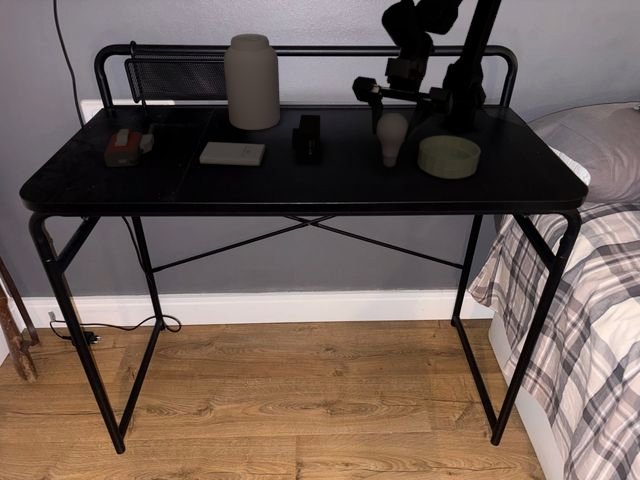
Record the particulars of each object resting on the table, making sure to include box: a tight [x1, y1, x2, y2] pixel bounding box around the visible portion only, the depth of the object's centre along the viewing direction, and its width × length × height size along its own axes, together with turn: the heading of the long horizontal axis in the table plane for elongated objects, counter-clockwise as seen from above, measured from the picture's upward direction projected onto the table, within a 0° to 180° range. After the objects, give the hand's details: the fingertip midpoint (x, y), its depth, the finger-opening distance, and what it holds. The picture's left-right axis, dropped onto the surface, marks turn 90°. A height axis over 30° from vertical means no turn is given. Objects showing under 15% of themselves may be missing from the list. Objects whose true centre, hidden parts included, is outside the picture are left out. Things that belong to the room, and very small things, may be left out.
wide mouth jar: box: [223, 33, 281, 131], centre depth 119 cm, size 12×12×20 cm
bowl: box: [416, 134, 482, 180], centre depth 104 cm, size 12×12×4 cm
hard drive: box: [199, 141, 266, 167], centre depth 107 cm, size 2×8×12 cm
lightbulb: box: [376, 112, 409, 168], centre depth 96 cm, size 6×6×11 cm
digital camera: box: [291, 114, 321, 165], centre depth 108 cm, size 10×5×7 cm, turn 178°
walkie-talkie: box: [103, 123, 156, 168], centre depth 109 cm, size 9×4×20 cm
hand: (389, 136), depth 95 cm, fingers closed on lightbulb, 6 cm apart
